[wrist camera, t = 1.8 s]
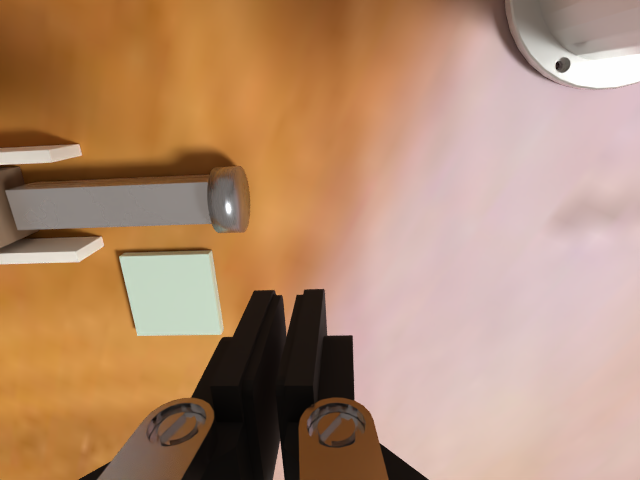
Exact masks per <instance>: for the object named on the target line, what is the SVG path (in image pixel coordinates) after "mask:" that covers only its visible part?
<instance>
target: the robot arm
mask: <svg viewBox="0 0 640 480" xmlns="http://www.w3.org/2000/svg"><path fill="white" fill-rule="evenodd" d="M505 12H506V16H507V20H508V24H509V29H510V32H511V34H512V36H513V39H514V41H515V43H516V45H517V47H518V49H519V51H520V52H521V53H522V55H523V56H524V57H525V59H526V60H527V61H528V63H529V64H530V65H531V66H533V67H534V68H535V69H536V70H537V71H539V72H540V73H541V74H542V75H543V76H545V77H547V78H549V79H551V80H553V81H555V82H557V83H559V84H561V85H565V86H569V87H573V88H577V89H592V90H600V89H616V88H620V87H624V86H628V85H632V84H636V83H639V82H640V0H505ZM556 62H558V63H559V68H558V69H557V70H556V68H555V65H556ZM280 441H281V450H282V459H283V468H284V477H285V480H428V479H427V478H426V477H424V476H423V475H422V474H420V473H419V472H418V471H416V470H415V469H414V468H412V467H411V466H410V465H408V464H407V463H406V462H404V461H403V460H402V459H400V458H399V457H398V456H396V455H395V454H394V453H392V452H391V451H390V450H388V449H387V448H386V447H384V446H383V445H382V444H380V443H379V440H378V436H377V432H376V428H375V424H374V420H373V418H372V416H371V414H370V412H369V411H368V410H367V409H366V408H365V407H364V406H363V405H361V404H360V403H358V402H356V401H354V370H353V336H352V335H349V336H327V324H326V305H325V291H324V289H309V290H304V294H303V295H297V296H296V300H295V305H294V309H293V313H292V317H291V321H290V325H289V329H288V333H287V337H286V326H285V315H284V304H283V297H282V295H276V293H275V291H274V290H262V291H254V292H253V294H252V296H251V299H250V301H249V303H248V305H247V307H246V309H245V311H244V314H243V316H242V318H241V320H240V322H239V324H238V327H237V329H236V331H235V333H234V335H233V337H223V338H222V339H221V340H220V342H219V344H218V346H217V348H216V350H215V352H214V354H213V356H212V358H211V360H210V362H209V364H208V365H207V367H206V369H205V371H204V373H203V375H202V377H201V379H200V381H199V383H198V385H197V387H196V389H195V391H194V393H193V395H192V397H191V398H182V399H177V400H173V401H170V402H168V403H166V404H163V405H161V406H160V407H158V408H157V409H155V410H154V411H152V412H151V413H150V414H149V415H148V416H147V417H146V418H145V419H144V420H143V422H142V423H141V424H140V425H139V427H138V428H137V429H136V431H135V432H134V433H133V434H132V436H131V437H130V438H129V439H128V441H127V442H126V443H125V445H124V446H123V447H122V448H121V450H120V451H119V452H118V454H117V455H116V456H115V457H114V459H113V460H112V461H111V462H109V463H107V464H106V465H104V466H102V467H100V468H98V469H97V470H95V471H93V472H91V473H89V474H88V475H86V476H84V477H82V478H80V479H79V480H273V475H274V470H275V464H276V459H277V454H278V448H279V443H280Z"/></svg>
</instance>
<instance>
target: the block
mask: <svg viewBox="0 0 640 480" xmlns="http://www.w3.org/2000/svg"><path fill="white" fill-rule="evenodd" d="M22 185H25V183H24V179H23V176H22V172H21V169H20V167H0V248H2V247H4V246H6V245H8V244H11V243H13V242H15V241H17V240H20V239H22V238H24V237H26V236H29V235H31V234H33V233H35V232H38V231H39V230H38V229H35V230H17V226H16V223H15V220H14V217H13V214H12V211H11V207H10V204H9V201H8V198H7V195H6V192H5V190H8V189H12V188H15V187H19V186H22Z"/></svg>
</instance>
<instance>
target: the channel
mask: <svg viewBox="0 0 640 480" xmlns="http://www.w3.org/2000/svg"><path fill="white" fill-rule="evenodd" d="M77 156H82V153H81V149H80V145H79V144H72V145H51V146H31V147H11V148H0V165H7V164H28V163H50V162H56V161H60V160H65V159H69V158H73V157H77ZM102 247H104V243H103V239H102V236H100V237H68V238H37V239H20V240H17V241H15V242H13V243H11V244H8V245H6V246H4V247H2V248H0V264H24V263H61V262H80V261H81V260H83V259H85V258H86V257H88V256H89V255H91V254H92V253H94V252H96V251H97V250H99V249H100V248H102Z"/></svg>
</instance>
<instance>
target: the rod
mask: <svg viewBox="0 0 640 480" xmlns="http://www.w3.org/2000/svg"><path fill="white" fill-rule="evenodd" d="M5 192H6V195H7V198H8V201H9V204H10V207H11V211H12V214H13V217H14V220H15V223H16V226H17V230H35V229H65V228H95V227H125V226H155V225H185V224H212V225H213V227H214V229H215V230H216V232H218V233H237V232H245V231H246V229H247V227H248V223H249V217H250V194H249V186H248V181H247V177H246V174H245V172H244V170H243V168H242V167H241V166H231V167H214V168H213V169H212V170H211V172H210V175H186V176H163V177H139V178H116V179H92V180H68V181H45V182H33V183H29V184H26V185H22V186H19V187H15V188H12V189H8V190H5Z"/></svg>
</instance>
